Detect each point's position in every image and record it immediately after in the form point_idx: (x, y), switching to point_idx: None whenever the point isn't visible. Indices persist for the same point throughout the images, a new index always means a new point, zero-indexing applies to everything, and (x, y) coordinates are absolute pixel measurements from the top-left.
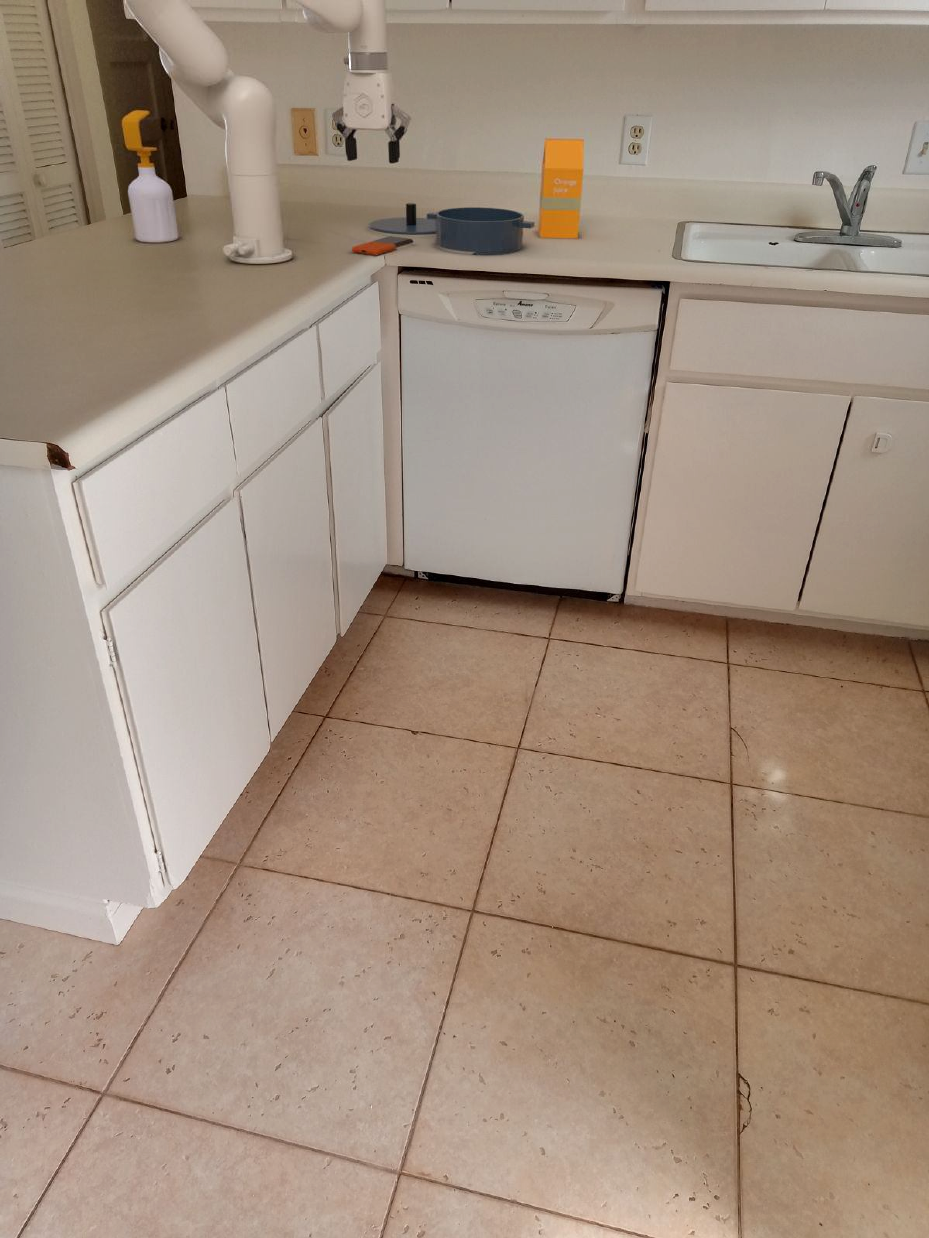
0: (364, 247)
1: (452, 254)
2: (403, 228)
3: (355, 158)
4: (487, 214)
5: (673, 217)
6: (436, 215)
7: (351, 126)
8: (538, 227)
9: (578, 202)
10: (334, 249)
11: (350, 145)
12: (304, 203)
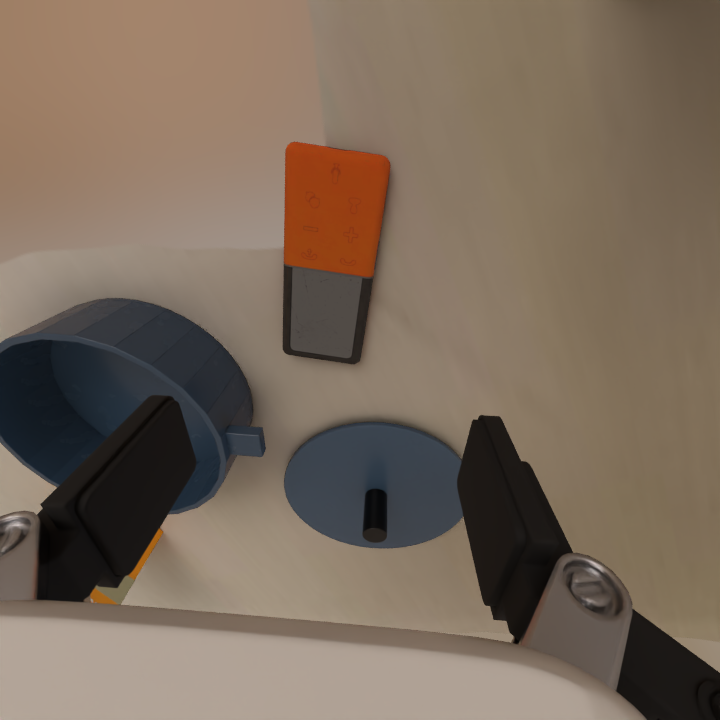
0: (341, 162)
1: (138, 284)
2: (372, 458)
3: (462, 473)
4: None
5: None
6: (192, 396)
7: (503, 683)
8: (155, 537)
9: None
10: (468, 194)
11: (498, 505)
12: (674, 614)
